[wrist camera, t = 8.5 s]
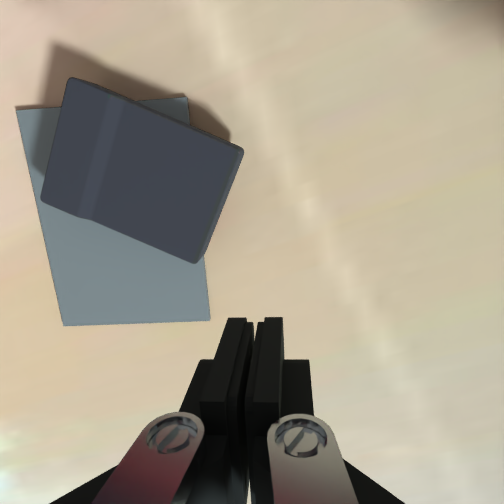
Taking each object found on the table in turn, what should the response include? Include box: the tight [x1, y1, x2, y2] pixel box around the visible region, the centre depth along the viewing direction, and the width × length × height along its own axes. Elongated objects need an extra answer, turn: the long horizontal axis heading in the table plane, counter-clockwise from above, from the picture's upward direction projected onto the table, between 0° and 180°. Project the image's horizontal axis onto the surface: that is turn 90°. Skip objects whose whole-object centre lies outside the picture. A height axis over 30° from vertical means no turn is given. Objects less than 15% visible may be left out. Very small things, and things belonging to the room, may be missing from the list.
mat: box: [16, 97, 210, 326], centre depth 38 cm, size 16×22×1 cm
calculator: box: [40, 77, 244, 264], centre depth 34 cm, size 11×4×15 cm
